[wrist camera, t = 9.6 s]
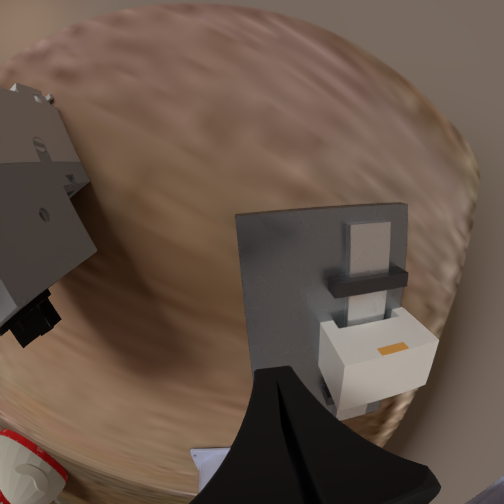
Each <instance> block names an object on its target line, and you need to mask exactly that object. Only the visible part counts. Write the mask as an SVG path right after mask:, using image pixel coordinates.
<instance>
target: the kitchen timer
mask: <svg viewBox="0 0 504 504" xmlns="http://www.w3.org/2000/svg"><path fill="white" fill-rule="evenodd" d="M67 480H68V475H67V472H66V471H65V470H64V469H63V467H62V466H61V465H60V464H59V463H58V462H57V461H56V460H54V459H53V458H52V457H51V456H50V455H48V454H47V453H46V452H45V451H43V450H42V449H41V448H39V447H38V446H37V445H35V444H34V443H32V442H31V441H29V440H28V439H26V438H25V437H23V436H21V435H19V434H17V433H16V432H13V431H11V430H8V429H3V430H2V431H1V432H0V502H3V504H50V503H51V502H52V501H53V500H54V499H55V498H56V497H57V496H58V495H59V494H60V493H61V491H62V490H63V488H64V487H65V485H66V482H67Z"/></svg>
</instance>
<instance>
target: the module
mask: <svg viewBox="0 0 504 504" xmlns="http://www.w3.org/2000/svg"><path fill="white" fill-rule="evenodd" d="M438 342H439V340H438V339H437V338H436V337H435V336H434V335H433V334H432V333H431V332H430V331H429V330H428V329H426V328H425V327H424V326H423V325H422V324H421V323H420V322H419V321H417V320H416V319H415V318H414V317H413V316H412V315H411V314H410V313H408V312H407V311H406V310H405V309H404V308H403V307H400V308H396V309H392V313H391V318H389V319H385V320H380V321H376V322H371V323H366V324H361V325H356V326H350V327H345V328H338V327H337V325H336V324H335V322H334V321H333V320H332V321H326V322H320V340H319V361H318V366H319V368H320V370H321V373H322V375H323V377H324V380H325V382H326V384H327V387H328V389H329V391H330V393H331V396H332V398H333V400H334V403H335V405H336V407H337V410H338V411H340V410H345V409H349V408H353V407H357V406H360V405H364V404H368V403H371V402H375V401H378V400H381V399H385V398H388V397H391V396H394V395H397V394H400V393H403V392H406V391H409V390H412V389H414V388H417V387H420V386H422V385H425V384H426V381H427V378H428V375H429V371H430V369H431V366H432V363H433V359H434V356H435V352H436V349H437V346H438Z"/></svg>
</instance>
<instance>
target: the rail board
mask: <svg viewBox="0 0 504 504" xmlns="http://www.w3.org/2000/svg"><path fill="white" fill-rule="evenodd" d="M235 219H236V229H237V238H238V248H239V258H240V267H241V277H242V286H243V296H244V305H245V314H246V323H247V332H248V341H249V349H250V358H251V366H252V375H253V382H254V371H255V370H256V369H262V368H271V367H280V366H288V365H289V366H291V367H292V368H293V370H294V371H295V373H296V374H297V376H298V377H299V378H300V380H301V381H302V382H303V384H304V385H305V386H306V387H307V389H308V390H309V391H310V392H311V393H312V394H313V395H314V396H315V397H316V399H317V400H318V401H319V402H320V403H321V404H322V405H323V406H324V407H325V408H326V409H327V410H328V411H329V412H330V413H332V414H333V415H334V416H335V417H336V418H337V419H338V420H340V421H341V420H345V419H349V418H353V417H356V416H360V415H364V414H366V413H369V412H373V411H376V410H378V409H379V406H380V402H381V400H378V401H375V402H371V403H368V404H364V405H360V406H357V407H353V408H349V409H345V410H340V411H338V410H337V407H336V405H335V403H334V400H333V398H332V396H331V393H330V391H329V389H328V387H327V384H326V382H325V380H324V377H323V375H322V373H321V370H320V368H319V366H318V361H319V340H320V322H326V321H332V320H333V321H334V322H335V324H336V325H337V327H338V328H345V327H350V326H356V325H361V324H366V323H371V322H376V321H380V320H385V319H389V318H391V313H392V309H396V308H400V307H401V299H402V291H403V287H406V286H407V281H408V272H406V271H405V261H406V246H407V223H408V204H405V203H401V202H399V203H377V204H358V205H341V206H326V207H312V208H299V209H287V210H275V211H264V212H253V213H243V214H235Z"/></svg>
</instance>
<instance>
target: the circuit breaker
mask: <svg viewBox="0 0 504 504" xmlns="http://www.w3.org/2000/svg"><path fill="white" fill-rule="evenodd" d="M34 96H35V98H36V101H37V102H36V101H35V98H34ZM52 99H53V97H52V95H51V94H48V95H47V96H46V97H44V96H42V93H41V91H39V90H37V89H34V88H31V87H28V86H24V85H21V84H18V83H15V85H14V86H13V87H12V88H11V89H10V90H8V89H5V88H1V87H0V336H2V335H3V334H4V333H6V332H7V331H8V330H9V329H10V330H11V332H12V333H13V335H14V336H15V338H16V339H17V341H18V342H19V343H20V345H21V346H22V347H23V348H24V347H26V346H27V345H28V344H29V343H30V342H32V341H33V340H34V339H36V338H37V337H38V336H40V335H41V336H42V335H44V334H45V333H47V332H48V331H50V330H52V329H53V328H54V325H56V324H57V323H58V322H59V321H60V320H61V317H60V316H59V314H58V313H57V311H56V310H55V308H54V307H53V305H52V304H51V302H50V301H49V299H48V297H49V296H50V295H51V293H50V291H49V290H48V288H49V287H50V286H52V285H53V284H54V283H56V282H57V281H58V280H59V279H61V278H62V277H63V276H65V275H66V274H67V273H68V272H70V271H71V270H72V269H74V268H75V267H76V266H78V265H79V264H80V263H82V262H83V261H85V260H86V259H87V258H89V257H90V256H91V255H93V254H94V253H96V252H97V248H96V247H95V245H94V243H93V242H92V240H91V238H90V236H89V235H88V233H87V231H86V229H85V227H84V226H83V224H82V222H81V220H80V218H79V216H78V214H77V213H76V211H75V209H74V207H73V205H72V203H71V201H70V199H69V198H71V197H72V196H73V195H74V194H75V193H77V192H78V191H79V190H80V189H81V188H83V187H84V186H85V185H86V184H88V183H89V182H90V179H89V177H88V176H87V174H86V172H85V170H84V167H83V165H82V163H81V161H80V159H79V157H78V155H77V153H76V151H75V149H74V147H73V144H72V142H71V140H70V138H69V135H68V133H67V131H66V129H65V126H64V124H63V122H62V119H61V117H60V114H59V112H58V110H57V107H54V106H51V104H50V101H51V100H52Z"/></svg>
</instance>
